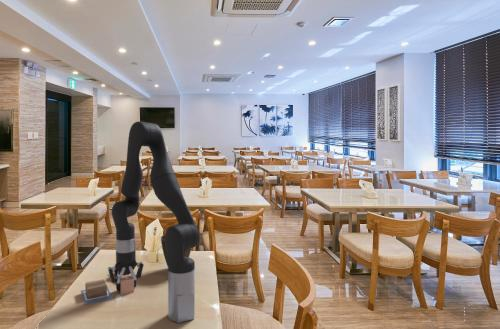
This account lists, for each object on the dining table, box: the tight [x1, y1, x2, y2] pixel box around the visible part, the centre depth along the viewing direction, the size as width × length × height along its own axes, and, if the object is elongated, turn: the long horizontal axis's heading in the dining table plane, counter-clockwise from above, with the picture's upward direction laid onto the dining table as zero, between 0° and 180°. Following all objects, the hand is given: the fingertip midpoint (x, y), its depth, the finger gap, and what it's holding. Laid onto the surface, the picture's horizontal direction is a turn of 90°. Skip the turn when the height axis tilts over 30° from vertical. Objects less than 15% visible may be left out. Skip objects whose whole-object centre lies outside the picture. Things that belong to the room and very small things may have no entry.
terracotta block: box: [119, 274, 135, 296], centre depth 146 cm, size 5×5×6 cm
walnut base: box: [84, 278, 108, 299], centre depth 143 cm, size 7×7×4 cm
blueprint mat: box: [80, 286, 114, 306], centre depth 143 cm, size 14×10×1 cm
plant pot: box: [160, 233, 192, 267], centre depth 170 cm, size 15×15×16 cm
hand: (126, 289), depth 146 cm, fingers closed on terracotta block, 5 cm apart
